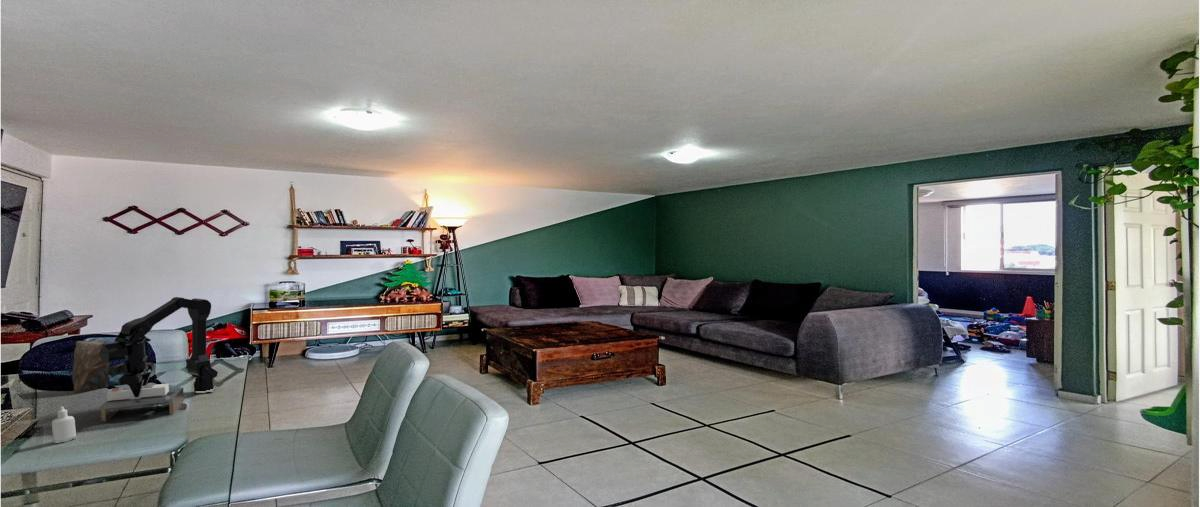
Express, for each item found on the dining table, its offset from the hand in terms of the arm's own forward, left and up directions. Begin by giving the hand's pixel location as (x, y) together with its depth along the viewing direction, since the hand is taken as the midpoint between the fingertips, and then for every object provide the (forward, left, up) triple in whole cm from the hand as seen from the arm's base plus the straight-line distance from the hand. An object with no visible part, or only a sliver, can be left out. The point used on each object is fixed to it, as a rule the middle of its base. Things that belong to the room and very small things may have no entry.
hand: (139, 394), depth 223 cm
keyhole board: (-1, 0, -7) cm, 7 cm away
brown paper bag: (+30, -38, -7) cm, 49 cm away
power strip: (0, 0, -3) cm, 3 cm away
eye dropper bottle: (+15, +22, -7) cm, 27 cm away
